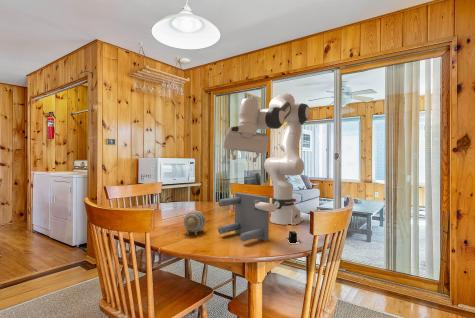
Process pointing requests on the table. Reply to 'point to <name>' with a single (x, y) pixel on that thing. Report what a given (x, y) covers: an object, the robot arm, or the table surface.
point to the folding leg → (264, 206)
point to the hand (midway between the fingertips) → (244, 160)
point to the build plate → (292, 237)
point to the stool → (247, 217)
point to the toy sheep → (194, 222)
